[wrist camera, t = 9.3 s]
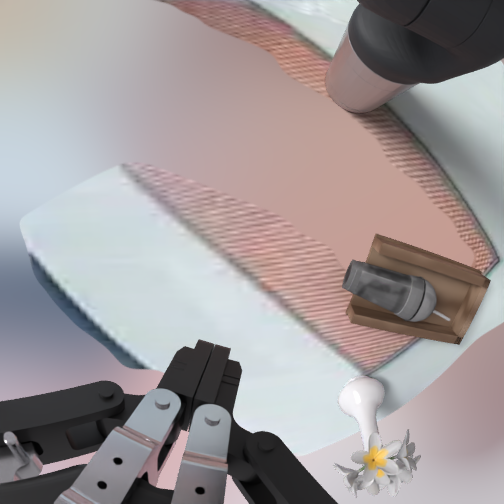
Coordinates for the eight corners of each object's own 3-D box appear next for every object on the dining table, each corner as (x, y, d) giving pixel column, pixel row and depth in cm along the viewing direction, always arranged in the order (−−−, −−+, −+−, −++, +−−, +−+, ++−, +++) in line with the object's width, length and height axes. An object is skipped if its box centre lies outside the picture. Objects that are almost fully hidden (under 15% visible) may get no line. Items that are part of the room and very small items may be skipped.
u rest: (375, 233, 41) (383, 240, 38) (480, 270, 41) (491, 278, 37) (345, 312, 46) (349, 325, 42) (449, 335, 45) (458, 346, 41)
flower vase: (359, 419, 53) (375, 513, 29) (308, 381, 51) (311, 494, 27) (408, 388, 49) (443, 480, 26) (362, 342, 47) (399, 455, 23)
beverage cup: (356, 243, 43) (458, 285, 39) (340, 281, 46) (437, 318, 43) (357, 263, 37) (470, 308, 33) (337, 306, 40) (445, 344, 36)
